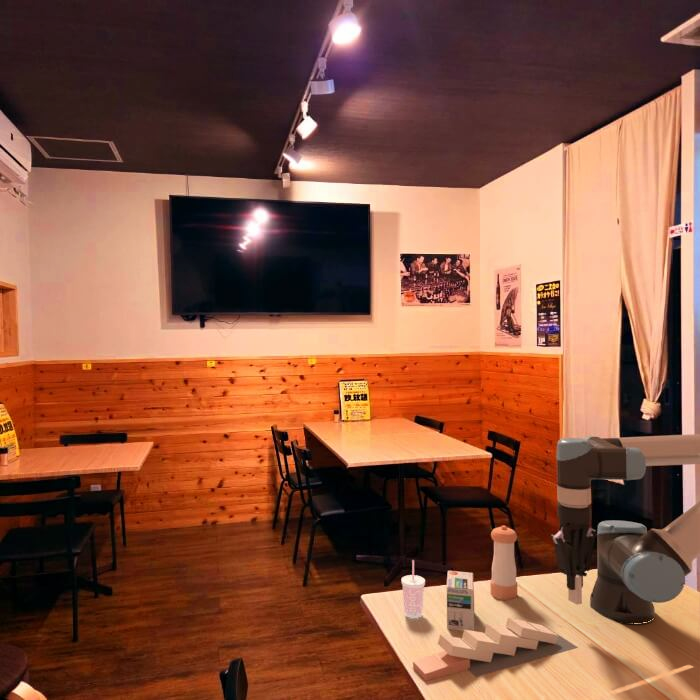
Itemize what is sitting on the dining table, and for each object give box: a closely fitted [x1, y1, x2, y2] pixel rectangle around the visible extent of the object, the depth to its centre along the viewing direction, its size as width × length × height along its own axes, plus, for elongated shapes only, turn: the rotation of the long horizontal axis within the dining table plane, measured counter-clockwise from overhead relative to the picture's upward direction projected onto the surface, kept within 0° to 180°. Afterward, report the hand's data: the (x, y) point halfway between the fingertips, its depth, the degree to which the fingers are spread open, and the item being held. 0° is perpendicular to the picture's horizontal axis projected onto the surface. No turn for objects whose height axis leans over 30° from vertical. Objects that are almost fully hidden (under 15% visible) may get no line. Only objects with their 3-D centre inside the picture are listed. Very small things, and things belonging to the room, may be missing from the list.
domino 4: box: [505, 617, 559, 644], centre depth 128 cm, size 2×5×11 cm
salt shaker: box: [490, 525, 518, 601], centre depth 154 cm, size 7×7×19 cm
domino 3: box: [484, 623, 538, 650], centre depth 125 cm, size 2×5×11 cm
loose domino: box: [461, 630, 516, 656], centre depth 123 cm, size 2×5×11 cm
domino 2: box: [437, 634, 493, 662], centre depth 120 cm, size 2×5×11 cm
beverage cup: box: [401, 559, 426, 619], centre depth 143 cm, size 6×6×14 cm
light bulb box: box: [446, 570, 475, 631], centre depth 139 cm, size 11×7×11 cm, turn 168°
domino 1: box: [412, 650, 470, 682], centre depth 118 cm, size 2×5×11 cm
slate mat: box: [467, 624, 578, 677], centre depth 126 cm, size 28×11×1 cm, turn 113°
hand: (575, 601), depth 133 cm, fingers closed
